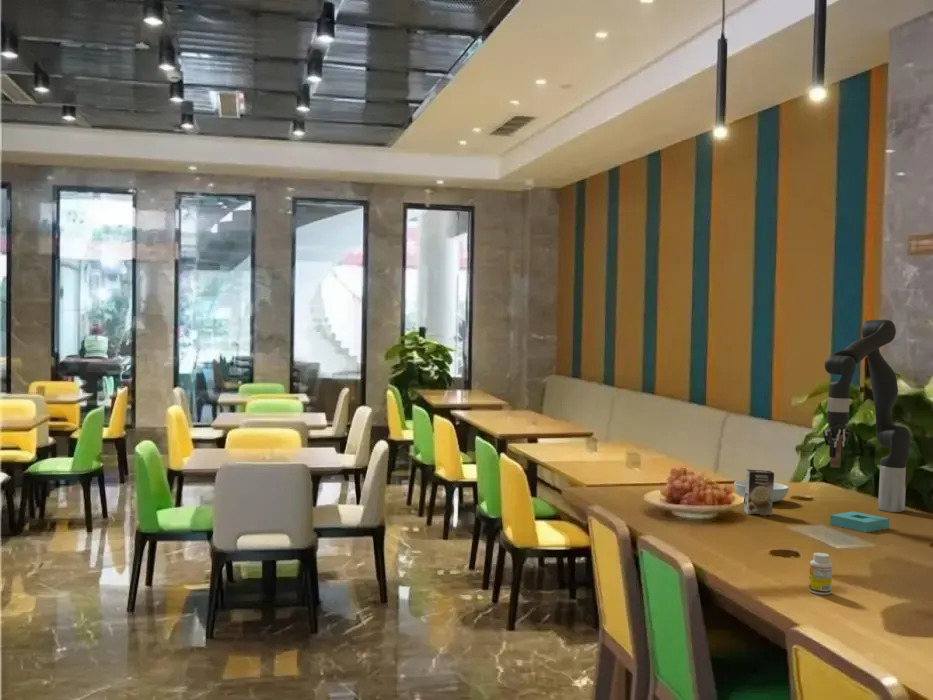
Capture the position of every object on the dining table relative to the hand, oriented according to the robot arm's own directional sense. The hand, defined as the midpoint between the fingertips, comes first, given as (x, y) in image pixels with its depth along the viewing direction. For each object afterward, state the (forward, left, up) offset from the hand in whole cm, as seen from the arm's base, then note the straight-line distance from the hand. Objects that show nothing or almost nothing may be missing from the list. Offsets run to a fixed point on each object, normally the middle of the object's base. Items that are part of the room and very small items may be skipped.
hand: (835, 456), depth 346 cm
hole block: (+1, +12, -23) cm, 26 cm away
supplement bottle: (+88, +56, -23) cm, 107 cm away
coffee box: (+16, -20, -23) cm, 35 cm away
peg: (0, 0, -4) cm, 4 cm away
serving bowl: (-6, -36, -24) cm, 44 cm away
